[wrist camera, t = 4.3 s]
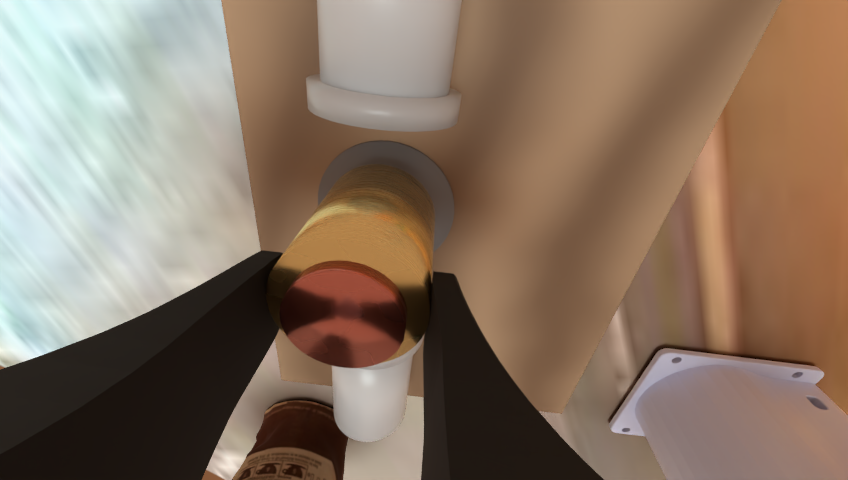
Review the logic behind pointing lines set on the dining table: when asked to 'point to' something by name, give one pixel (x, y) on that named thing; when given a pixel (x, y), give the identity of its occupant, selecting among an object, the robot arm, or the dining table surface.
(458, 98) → the pipe stubs
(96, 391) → the robot arm
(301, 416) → the coffee cup
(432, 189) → the flange seat
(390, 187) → the tan red-topped cylinder
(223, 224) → the dining table surface
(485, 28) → the board
